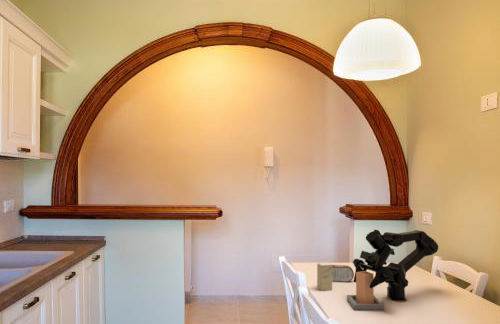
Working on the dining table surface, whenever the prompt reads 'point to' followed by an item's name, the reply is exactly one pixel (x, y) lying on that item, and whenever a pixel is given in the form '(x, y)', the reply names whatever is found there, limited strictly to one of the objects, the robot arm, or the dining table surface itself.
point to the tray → (374, 307)
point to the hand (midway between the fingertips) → (362, 284)
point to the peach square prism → (364, 288)
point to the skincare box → (324, 276)
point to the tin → (342, 273)
